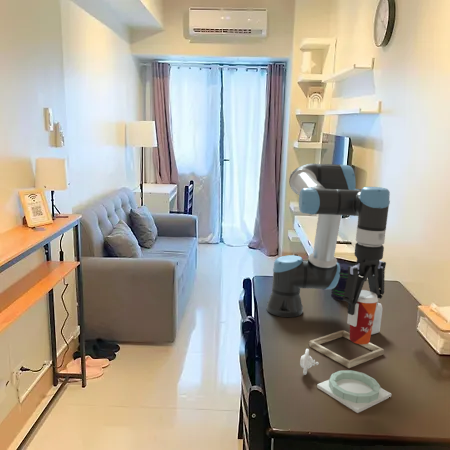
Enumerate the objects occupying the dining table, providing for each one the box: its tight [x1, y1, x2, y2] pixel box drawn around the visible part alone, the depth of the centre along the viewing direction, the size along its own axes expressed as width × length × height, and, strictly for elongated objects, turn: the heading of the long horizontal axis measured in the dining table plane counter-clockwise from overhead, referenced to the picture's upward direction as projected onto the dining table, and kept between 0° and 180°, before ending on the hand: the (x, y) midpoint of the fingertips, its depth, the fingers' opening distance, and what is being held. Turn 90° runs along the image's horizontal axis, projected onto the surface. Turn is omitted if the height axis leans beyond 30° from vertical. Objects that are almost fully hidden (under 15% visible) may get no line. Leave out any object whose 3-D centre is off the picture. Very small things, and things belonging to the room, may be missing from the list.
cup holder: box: [316, 369, 392, 414], centre depth 135 cm, size 15×15×3 cm
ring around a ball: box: [299, 348, 319, 376], centre depth 144 cm, size 8×6×8 cm
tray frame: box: [308, 329, 385, 369], centre depth 161 cm, size 18×18×2 cm
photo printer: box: [371, 302, 384, 336], centre depth 175 cm, size 10×4×12 cm, turn 123°
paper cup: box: [349, 289, 379, 345], centre depth 130 cm, size 8×8×14 cm
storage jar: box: [330, 262, 354, 302], centre depth 213 cm, size 10×10×15 cm
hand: (361, 321), depth 131 cm, fingers closed on paper cup, 8 cm apart
